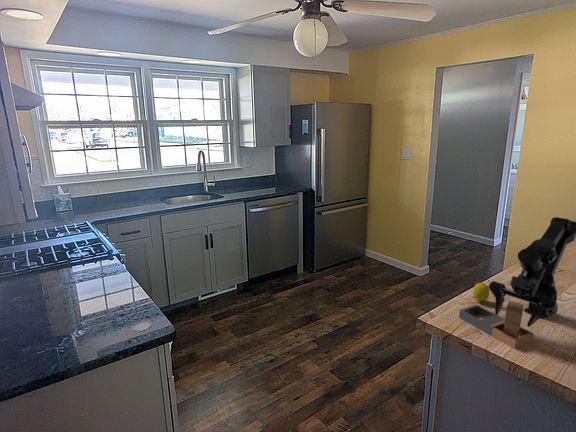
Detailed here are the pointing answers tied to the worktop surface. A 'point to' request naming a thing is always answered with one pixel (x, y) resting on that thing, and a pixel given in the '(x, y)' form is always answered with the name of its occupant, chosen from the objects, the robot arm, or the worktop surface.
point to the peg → (513, 318)
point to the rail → (494, 326)
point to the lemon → (481, 291)
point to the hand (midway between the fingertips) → (511, 320)
